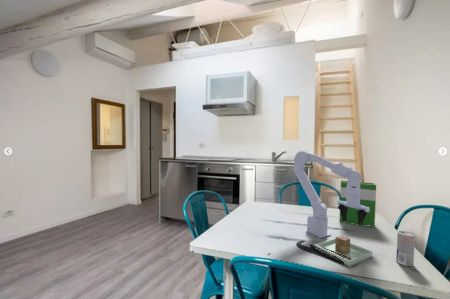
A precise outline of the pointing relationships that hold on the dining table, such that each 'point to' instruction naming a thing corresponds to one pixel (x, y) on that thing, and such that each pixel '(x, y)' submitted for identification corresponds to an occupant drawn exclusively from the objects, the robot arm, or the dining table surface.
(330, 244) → the tray
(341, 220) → the hardback book
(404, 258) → the energy drink
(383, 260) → the dining table surface
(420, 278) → the dining table surface
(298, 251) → the dining table surface
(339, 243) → the walnut block
